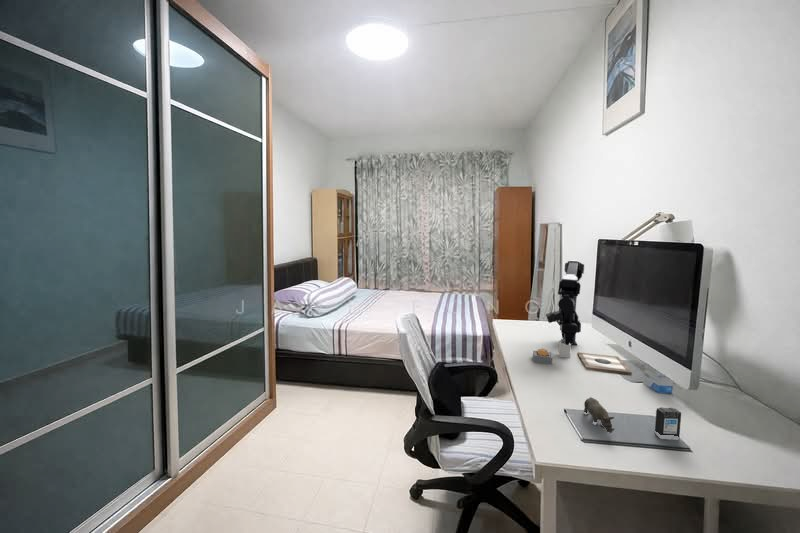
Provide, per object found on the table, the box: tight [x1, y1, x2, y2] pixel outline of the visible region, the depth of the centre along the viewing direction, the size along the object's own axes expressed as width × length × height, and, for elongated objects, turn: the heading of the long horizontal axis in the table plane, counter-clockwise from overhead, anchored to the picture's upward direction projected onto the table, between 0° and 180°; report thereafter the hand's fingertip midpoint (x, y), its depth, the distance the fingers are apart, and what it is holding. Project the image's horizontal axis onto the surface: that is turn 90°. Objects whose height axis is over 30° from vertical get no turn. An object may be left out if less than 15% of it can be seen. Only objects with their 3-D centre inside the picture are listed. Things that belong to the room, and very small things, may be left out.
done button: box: [537, 348, 549, 356], centre depth 148 cm, size 4×4×3 cm
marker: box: [558, 338, 572, 359], centre depth 154 cm, size 4×4×7 cm
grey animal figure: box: [583, 396, 615, 434], centre depth 99 cm, size 4×14×6 cm, turn 177°
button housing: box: [532, 350, 553, 366], centre depth 148 cm, size 7×7×3 cm
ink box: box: [642, 362, 674, 394], centre depth 123 cm, size 9×5×12 cm, turn 179°
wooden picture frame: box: [577, 351, 633, 375], centre depth 146 cm, size 18×16×1 cm
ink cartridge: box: [654, 407, 682, 438], centre depth 93 cm, size 5×2×8 cm, turn 87°
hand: (565, 341), depth 154 cm, fingers open, 9 cm apart
